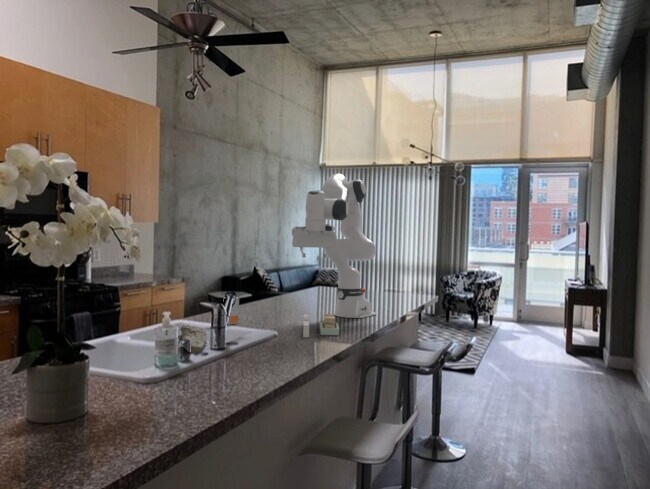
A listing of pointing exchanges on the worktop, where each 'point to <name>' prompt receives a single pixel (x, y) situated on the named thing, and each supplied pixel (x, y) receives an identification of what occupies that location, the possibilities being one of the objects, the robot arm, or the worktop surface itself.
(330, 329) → the pale green tray
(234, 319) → the skincare box
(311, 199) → the robot arm
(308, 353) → the worktop surface
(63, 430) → the worktop surface
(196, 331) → the long grey stone
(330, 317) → the bar
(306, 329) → the door edge
